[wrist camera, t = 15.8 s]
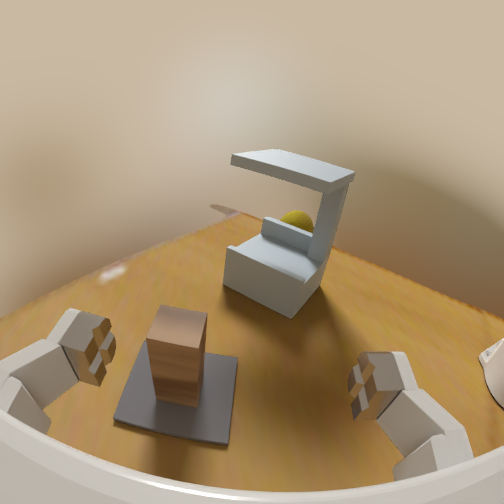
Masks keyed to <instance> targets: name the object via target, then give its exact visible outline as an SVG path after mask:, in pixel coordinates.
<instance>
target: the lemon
mask: <svg viewBox="0 0 504 504" xmlns="http://www.w3.org/2000/svg"><path fill="white" fill-rule="evenodd" d="M280 221H282V222H284V223H287V224H289V225H292V226H295V227H297V228H300V229H302V230H305V231H307V232H310V233H312V234H313V231H314V227H313V223H312V220H311V218H310V217H309V216H308V215H307V214H306V213H304V212H302V211H291V212H289V213H287V214H285V215H284V216H283V217H282V218H281V220H280Z"/></svg>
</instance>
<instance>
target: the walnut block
mask: <svg viewBox="0 0 504 504" xmlns="http://www.w3.org/2000/svg"><path fill="white" fill-rule="evenodd" d="M206 326H207V313H204V312H198V311H193V310H187V309H181V308H176V307H171V306H165V305H160V307H159V310H158V312H157V314H156V316H155V318H154V321H153V323H152V325H151V327H150V330H149V332H148V334H147V336H146V342H147V349H148V356H149V362H150V368H151V374H152V380H153V385H154V390H155V396H156V399H157V400H161V401H165V402H170V403H175V404H179V405H184V406H190V407H195V408H197V406H198V401H199V396H200V391H201V386H202V381H203V377H204V359H205V342H206Z"/></svg>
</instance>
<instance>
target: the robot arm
mask: <svg viewBox="0 0 504 504" xmlns="http://www.w3.org/2000/svg"><path fill="white" fill-rule="evenodd" d="M111 327H112V326H111V323H110V319H108V318H105V317H101V316H98V315H94V314H91V313H87V312H84V311H80V310H76V309H73V308H70V309H68V310H66V312H65V313H64V315H63V316H62V317H61V319H60V320H59V321H58V323H57V324H56V326H55V327H54V328H53V330H52V331H51V333H50V334H49V336H48V337H47V339H46V340H45V339H41V340H39V341H37V342H35V343H33V344H31V345H29V346H28V347H26V348H24V349H22V350H20V351H18V352H16V353H14V354H12V355H10V356H8V357H7V358H5V359H3V360H1V361H0V504H504V445H503V446H501V447H499V448H497V449H495V450H492V451H490V452H488V453H485V454H483V455H481V456H478V457H476V458H474V456H473V453H472V450H471V446H470V443H469V440H468V437H467V434H466V431H465V428H464V426H462V425H461V424H460V423H459V422H458V421H457V420H456V419H455V418H454V417H453V416H451V415H450V414H449V413H448V412H447V411H446V410H445V409H444V408H443V407H442V406H441V405H439V404H438V403H437V402H436V401H435V400H434V399H433V398H432V397H431V396H430V395H428V394H427V393H426V392H425V391H424V390H423V389H419V388H418V386H417V383H416V380H415V377H414V375H413V372H412V369H411V367H410V364H409V361H408V359H407V356H406V354H405V353H404V352H367V351H364V352H362V353H361V354H360V356H359V357H358V362H359V364H357V365H356V366H354V367H353V368H352V370H351V372H350V374H349V379H348V389H349V394H350V395H351V396H352V397H353V398H354V400H353V402H352V404H351V407H352V412H353V418H354V421H361V420H376V422H377V423H378V424H379V425H380V427H381V428H382V429H383V431H384V432H385V433H386V434H387V436H388V437H389V438H390V440H391V441H392V442H393V443H394V445H395V446H396V447H397V449H398V450H399V451H400V452H401V454H402V455H403V456H404V459H402V460H401V461H400V462H398V463H397V464H395V466H394V467H393V474H394V481H395V482H390V483H384V484H379V485H373V486H366V487H359V488H351V489H342V490H330V491H314V492H263V491H247V490H235V489H226V488H218V487H210V486H204V485H198V484H192V483H186V482H181V481H176V480H172V479H167V478H163V477H159V476H155V475H151V474H147V473H143V472H140V471H136V470H133V469H130V468H126V467H123V466H120V465H117V464H114V463H111V462H108V461H105V460H103V459H100V458H97V457H95V456H92V455H89V454H87V453H84V452H82V451H80V450H77V449H75V448H73V447H70V446H68V445H66V444H64V443H61V442H59V441H57V440H55V439H53V438H51V437H49V436H47V435H46V434H47V432H48V429H49V427H50V425H51V421H50V418H49V417H48V416H47V415H46V414H45V412H44V411H43V409H44V408H45V407H47V406H48V405H49V404H51V403H52V402H53V401H54V400H56V399H57V398H58V397H60V396H61V395H62V394H64V393H65V392H66V391H67V390H69V389H70V388H71V387H73V386H74V385H75V384H77V383H78V382H79V381H82V382H85V383H88V384H92V385H95V386H98V387H100V385H101V383H102V381H103V379H104V377H105V375H106V373H107V371H106V367H105V366H106V365H107V364H109V363H111V362H112V360H113V357H114V355H115V350H116V340H115V337H114V335H113V334H112V333H111V332H110V329H111ZM479 360H480V362H481V364H482V366H483V368H484V373H485V379H486V383H487V385H488V388H489V390H490V392H491V393H492V395H493V396H494V398H495V399H496V400H497V402H498V403H499V404H500V405H501V406H502V407H503V408H504V338H503V339H501V340H500V341H498V342H497V343H496V344H494V345H493V346H491V347H490V348H488V349H487V350H485V351H484V352H482V353H481V354H480V355H479ZM78 380H79V381H78Z"/></svg>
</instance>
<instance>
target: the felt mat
mask: <svg viewBox="0 0 504 504" xmlns="http://www.w3.org/2000/svg"><path fill="white" fill-rule="evenodd" d="M236 367H237V357H231V356H224V355H218V354H211V353H205V359H204V377H203V381H202V386H201V391H200V396H199V401H198V406H197V408H195V407H190V406H184V405H179V404H175V403H170V402H165V401H161V400H157V399H156V396H155V390H154V385H153V380H152V374H151V368H150V362H149V356H148V349H147V342H146V341H145V340H144V343H143V345H142V347H141V350H140V352H139V354H138V357H137V359H136V361H135V364H134V366H133V369H132V371H131V373H130V376H129V378H128V381H127V383H126V386H125V388H124V391H123V393H122V396H121V398H120V401H119V403H118V406H117V409H116V411H115V414H114V417H113V419H114V420H115V421H118V422H121V423H125V424H128V425H131V426H135V427H139V428H142V429H146V430H150V431H154V432H158V433H162V434H166V435H171V436H175V437H180V438H185V439H190V440H196V441H201V442H207V443H214V444H221V445H228V439H229V430H230V421H231V412H232V403H233V394H234V385H235V376H236Z"/></svg>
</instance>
